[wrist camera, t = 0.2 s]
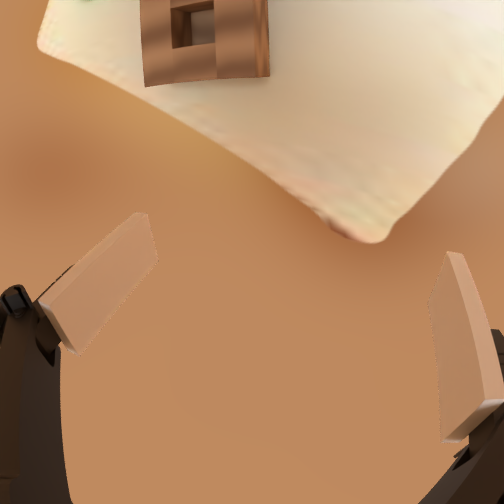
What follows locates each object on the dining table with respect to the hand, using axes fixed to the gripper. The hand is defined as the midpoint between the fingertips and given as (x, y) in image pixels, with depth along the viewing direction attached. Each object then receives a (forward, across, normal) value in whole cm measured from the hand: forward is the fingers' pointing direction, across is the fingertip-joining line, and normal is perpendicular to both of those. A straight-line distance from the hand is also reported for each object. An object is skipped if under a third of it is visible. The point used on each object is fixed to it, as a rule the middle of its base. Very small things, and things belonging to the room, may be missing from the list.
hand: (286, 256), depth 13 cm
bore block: (+28, -15, +14) cm, 34 cm away
